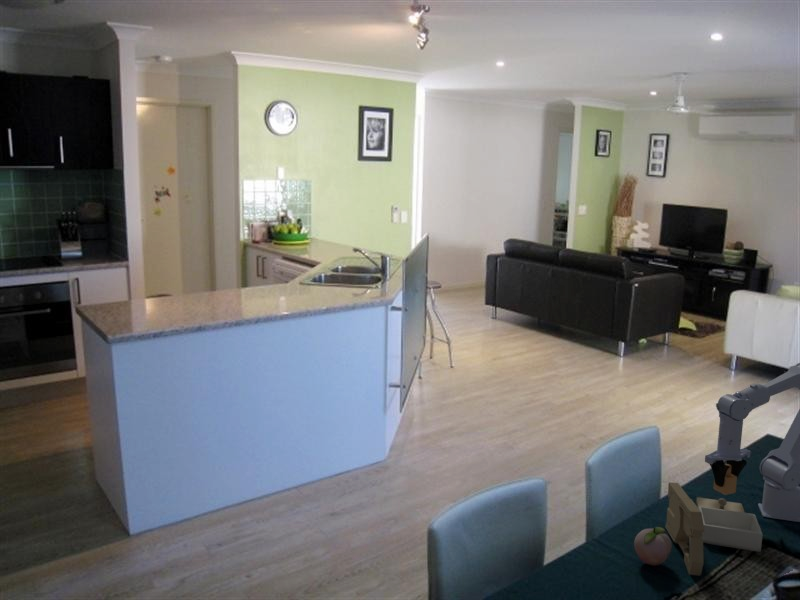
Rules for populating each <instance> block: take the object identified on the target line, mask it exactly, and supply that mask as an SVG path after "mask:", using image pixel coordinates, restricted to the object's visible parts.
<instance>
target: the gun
mask: <svg viewBox="0 0 800 600" xmlns="http://www.w3.org/2000/svg"><path fill="white" fill-rule="evenodd" d="M667 490H668V491H667V498H668V499H669V501H668V507H667V509H666V522H665V525H664V527H665V528H664V529H666V531H667V534H668V535H669V536H670V537H671V539H672V541H673V542H674V544H675V545H678V546H679V548H680V549H681V551H682V553H683V562H684V564H685V567H686V570H687V573H688V575H689V576H690V575H691V576H702V572H703V567H704V543H703V539H702V538H701V537H702V532H704V524H703V519H702V513H701V511H700V510H699V508H698V507H697V504H696V503H695V502H694V501H693V499H692V498H690V496H689V495H688V494H687V492H685V490H684V489H683V488H682V487H681V485H680V484H679V482H670V481H669V482H668V488H667Z"/></svg>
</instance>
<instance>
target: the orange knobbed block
mask: <svg viewBox="0 0 800 600" xmlns="http://www.w3.org/2000/svg"><path fill="white" fill-rule="evenodd" d="M725 465H728V466H729V468H728V470H727V472H726V475H725V480H724V485H723V487H720V486H718V485H716V484H715V479H714V478H713V487H712V489H713V490H715V491H716V492H719V493H720V494H722V495H724V496H727V495H731V494H735V493H736V492H737V482H738V479H737V476H735V475H733V474H731V468H732V466H731V465H729V464H727V463H725Z"/></svg>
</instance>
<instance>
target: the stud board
mask: <svg viewBox="0 0 800 600" xmlns="http://www.w3.org/2000/svg"><path fill="white" fill-rule="evenodd" d="M695 501H696V503H695V504H696V506H697V507H699V506H702V507H709V508H715V509H722V510H729V511H736V512H743V513H746V512H745V510H744V507H743V504H742V503H740V502H733V501H727V500H726V499H725V497H724V498H723V497H719V498H718V499H714V498H713V499H711V498H706V497H698V496H697V497H696V500H695Z"/></svg>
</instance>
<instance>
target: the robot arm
mask: <svg viewBox="0 0 800 600" xmlns="http://www.w3.org/2000/svg"><path fill="white" fill-rule="evenodd" d="M793 388H797V389H798V390H799V391H800V362H798V363H796V364H795V365H791V366H789V367H788V370H787V371H786V372H785V373H783V374H780V375H779V376H777V377H775V378H774V379H771V380H770V381H768V382H766V383H765V384H760V383H752V384H750V385H749V386H748V387H745V388H744V389H741V390H739V391H735V393H734V394H727V393H726V394H723V395H722V396H721V397H720V398H719V399H718V401H717V403H715V407H716V410H717V411H718V418H719V424H718V425H719V426H718V436H717V447H716V450H715V451H713V452H711V453H710V454H709V453H708V454H705V456H704V462H705V464H706V463H707V464H708V465H709V466H710V468H711V471H712V473H713V480H714V479H715V484H716V485H718V486H720V487H723V485H724V480H725V475H726V472H727V470H728V468H729V466H728V465H725V464H729V465H731V466H732V468H731V474H733V475H735V476H737V480H738V479H739V476H740V474H741V472H742V470H743V469H744V468H745V467H746V466H747V464H748V463H747V462H748V461H747V460H746V459H749V458H751V454H752V453H751V452H752V451H751V450H749V449H747V448H742V447H741V445H742V438H743V436H742V435H743V427H744V426H743V425H744V420H745V419H746V418H747V417H748V416H749V415H750V413H751V412H752V411H753V410H755V409H757V408H759V407H761V406H763V405H765V404H767V403H769V402H770V400H771V397H772V396H775V395H777V394H780V393H782V392H783V393H784V392H786V391H789V390H791V389H793ZM743 458H746V459H743ZM725 461H726V463H725ZM783 461H784V462H783ZM759 472H760V474H761V475H763V476H762V480H764V483H763V493H762V503H758V504H757V506H758V508H759V511H760V513H761V516H762V517H763V518H770V519H776V520H783V521H791V522H795V523H797V522H798V523H800V486H799V485H800V408H799V409H798V411H797V413H796V415H795V416H794V419H793V421H792V422H791V425H790V427H789V429H788V430H787V432H786V434H785V436H784V438H783V440H782V442H781V444H780V446H779V447H778V448H775V449H772V450H769V453H768V454H767V455H766V456H765V457H764V458H763V459H762V460H761V461H760V464H759Z"/></svg>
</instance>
